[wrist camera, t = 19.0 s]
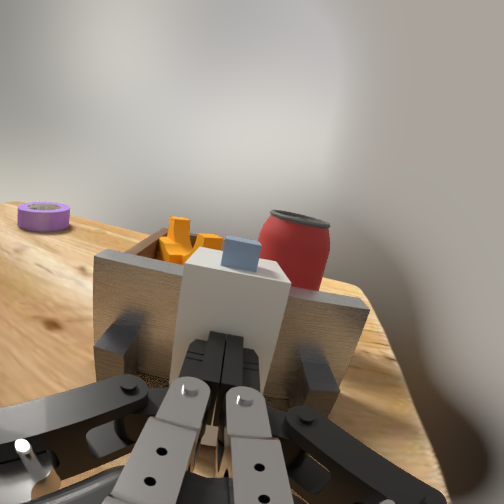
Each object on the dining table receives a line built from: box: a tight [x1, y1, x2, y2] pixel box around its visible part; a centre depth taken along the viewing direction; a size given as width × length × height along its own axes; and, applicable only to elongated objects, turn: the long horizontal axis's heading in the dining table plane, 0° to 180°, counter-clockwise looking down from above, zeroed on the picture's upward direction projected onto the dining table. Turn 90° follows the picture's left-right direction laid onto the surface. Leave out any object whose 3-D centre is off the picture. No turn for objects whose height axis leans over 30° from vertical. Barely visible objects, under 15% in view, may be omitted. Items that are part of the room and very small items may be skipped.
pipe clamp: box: [156, 216, 223, 265], centre depth 40 cm, size 12×4×6 cm, turn 36°
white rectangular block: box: [169, 235, 291, 446], centre depth 15 cm, size 5×5×11 cm
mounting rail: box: [93, 249, 370, 418], centre depth 19 cm, size 18×8×8 cm, turn 91°
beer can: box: [258, 210, 330, 291], centre depth 28 cm, size 7×7×12 cm
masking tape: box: [17, 202, 70, 231], centre depth 47 cm, size 12×12×4 cm
